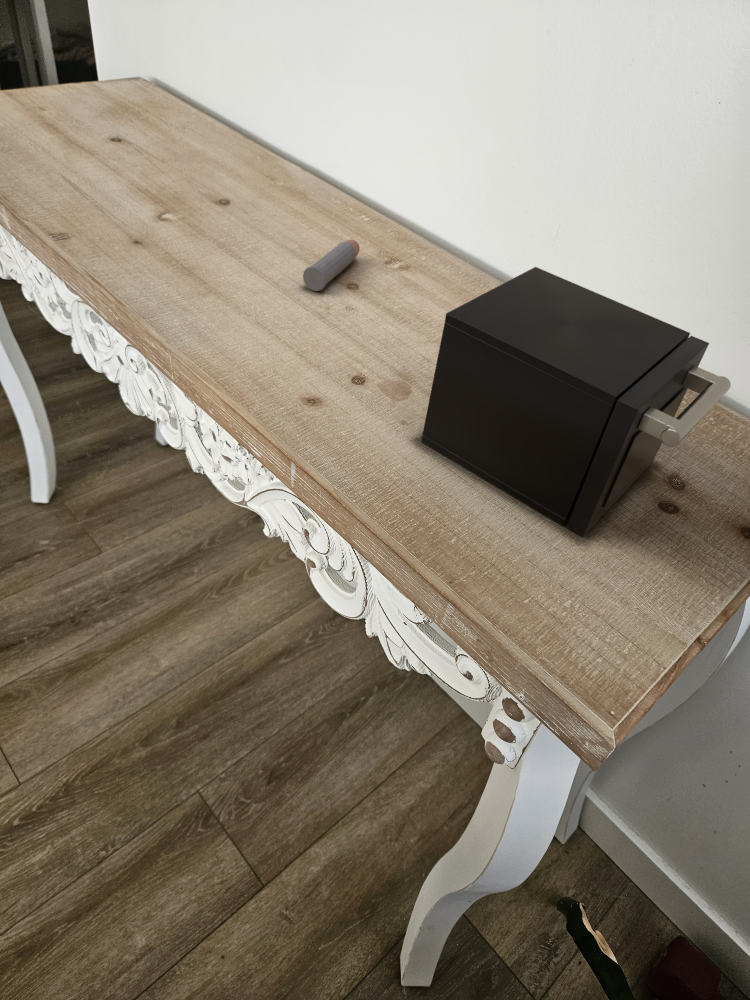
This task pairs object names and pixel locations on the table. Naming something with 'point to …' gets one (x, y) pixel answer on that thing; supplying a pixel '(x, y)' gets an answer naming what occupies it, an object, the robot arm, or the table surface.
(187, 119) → the table surface
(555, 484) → the oven
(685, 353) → the oven door
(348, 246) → the bullet cartridge
